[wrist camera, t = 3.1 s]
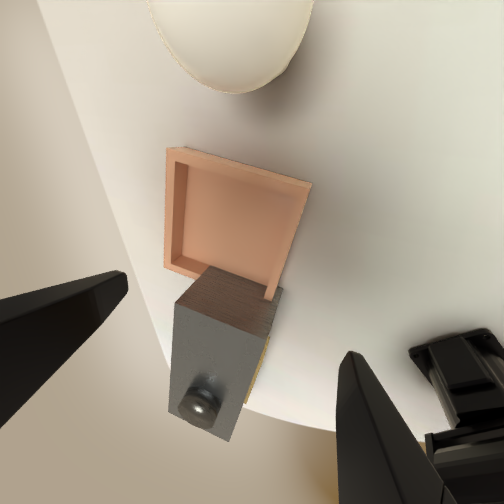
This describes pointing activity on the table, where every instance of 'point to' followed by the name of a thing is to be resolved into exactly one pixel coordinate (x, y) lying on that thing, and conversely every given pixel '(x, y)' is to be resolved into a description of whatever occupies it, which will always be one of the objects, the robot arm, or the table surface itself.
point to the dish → (229, 217)
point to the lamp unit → (218, 348)
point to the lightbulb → (232, 38)
